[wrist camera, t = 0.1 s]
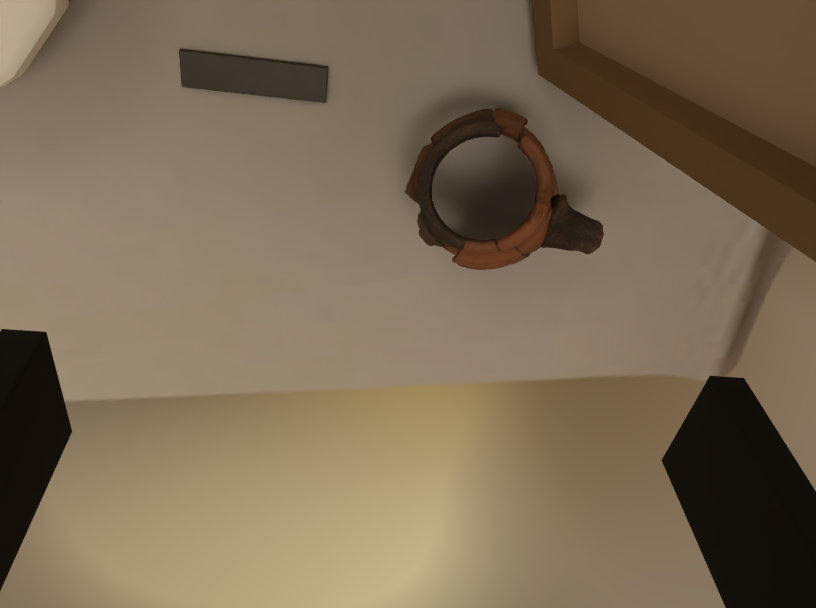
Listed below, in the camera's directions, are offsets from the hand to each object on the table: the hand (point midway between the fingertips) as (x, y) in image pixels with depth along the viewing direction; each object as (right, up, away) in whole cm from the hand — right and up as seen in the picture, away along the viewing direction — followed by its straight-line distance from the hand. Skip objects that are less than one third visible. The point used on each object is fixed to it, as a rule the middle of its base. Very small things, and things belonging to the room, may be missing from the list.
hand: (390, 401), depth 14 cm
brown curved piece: (+6, +10, +29) cm, 31 cm away
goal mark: (-8, +15, +24) cm, 29 cm away
